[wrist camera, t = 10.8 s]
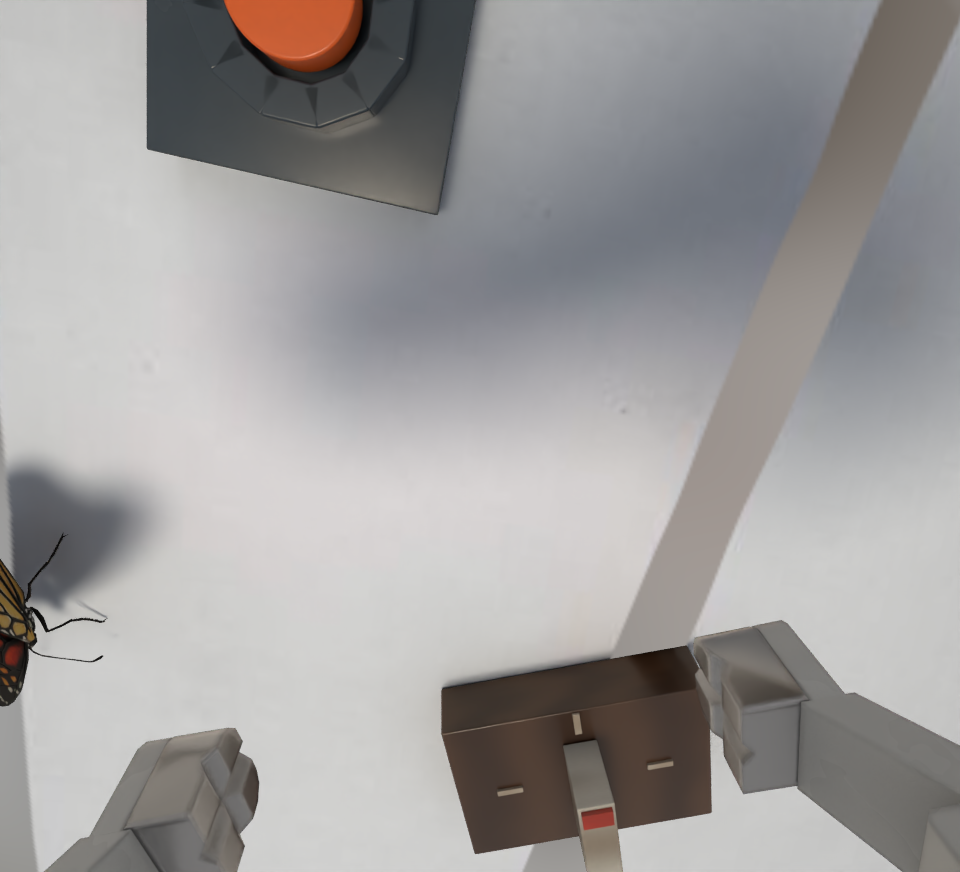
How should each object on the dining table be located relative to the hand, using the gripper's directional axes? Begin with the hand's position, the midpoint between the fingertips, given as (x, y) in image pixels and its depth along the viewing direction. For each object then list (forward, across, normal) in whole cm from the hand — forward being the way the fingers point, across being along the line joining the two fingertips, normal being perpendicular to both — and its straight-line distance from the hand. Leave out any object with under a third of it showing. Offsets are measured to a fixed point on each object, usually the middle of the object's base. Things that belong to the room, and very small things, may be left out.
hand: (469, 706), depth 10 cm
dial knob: (+14, -3, +22) cm, 26 cm away
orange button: (+13, +2, -14) cm, 20 cm away
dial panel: (+17, -3, +22) cm, 28 cm away
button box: (+17, +2, -14) cm, 22 cm away
